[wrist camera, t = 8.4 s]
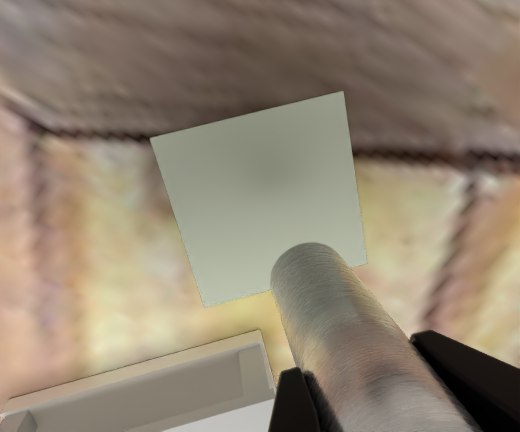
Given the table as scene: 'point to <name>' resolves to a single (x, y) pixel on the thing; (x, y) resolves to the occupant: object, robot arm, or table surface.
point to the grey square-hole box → (160, 395)
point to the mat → (262, 192)
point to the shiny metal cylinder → (357, 351)
